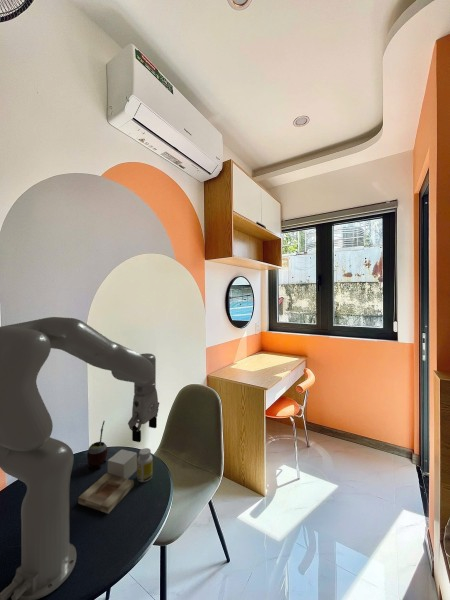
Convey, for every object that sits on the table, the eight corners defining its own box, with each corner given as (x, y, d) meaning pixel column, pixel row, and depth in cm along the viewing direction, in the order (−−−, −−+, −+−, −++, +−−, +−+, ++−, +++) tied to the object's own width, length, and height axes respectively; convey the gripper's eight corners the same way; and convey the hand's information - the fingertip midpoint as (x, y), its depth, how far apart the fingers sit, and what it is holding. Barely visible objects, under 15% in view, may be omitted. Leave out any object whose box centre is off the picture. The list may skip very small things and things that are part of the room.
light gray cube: (123, 482, 92) (123, 464, 91) (107, 478, 94) (107, 460, 94) (136, 469, 98) (136, 452, 98) (121, 465, 101) (121, 449, 101)
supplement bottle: (154, 472, 97) (154, 447, 97) (149, 483, 92) (149, 456, 91) (140, 471, 97) (141, 446, 97) (134, 482, 92) (134, 455, 92)
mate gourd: (90, 474, 96) (90, 434, 96) (84, 463, 102) (84, 426, 102) (110, 465, 101) (110, 427, 101) (104, 455, 107) (104, 420, 107)
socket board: (108, 513, 79) (108, 507, 79) (78, 503, 82) (78, 497, 82) (133, 486, 90) (133, 480, 90) (106, 478, 94) (106, 472, 94)
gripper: (138, 398, 85) (138, 449, 85) (166, 381, 101) (166, 424, 101) (120, 395, 87) (120, 445, 87) (150, 379, 103) (150, 421, 104)
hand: (145, 433), depth 94 cm, fingers open, 9 cm apart
